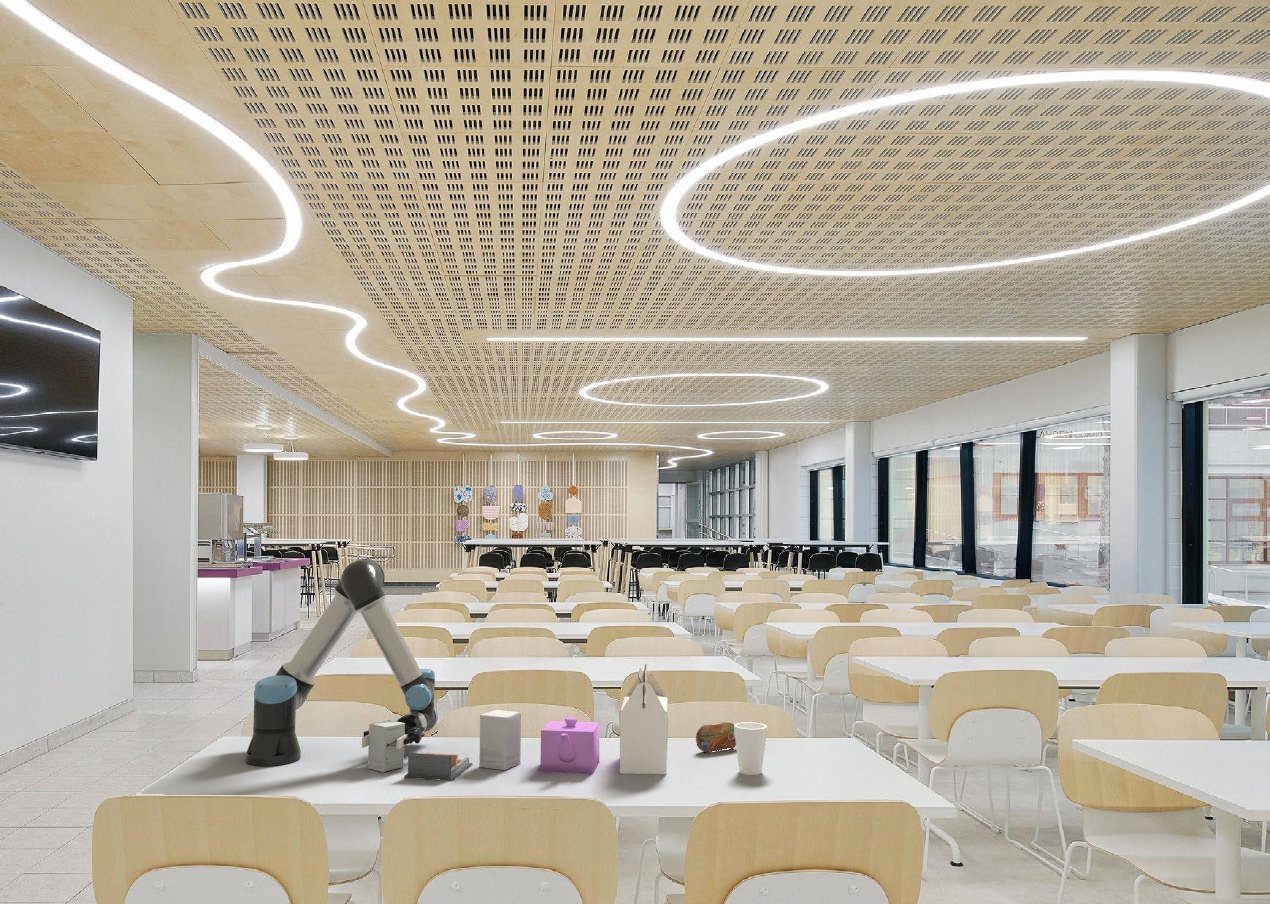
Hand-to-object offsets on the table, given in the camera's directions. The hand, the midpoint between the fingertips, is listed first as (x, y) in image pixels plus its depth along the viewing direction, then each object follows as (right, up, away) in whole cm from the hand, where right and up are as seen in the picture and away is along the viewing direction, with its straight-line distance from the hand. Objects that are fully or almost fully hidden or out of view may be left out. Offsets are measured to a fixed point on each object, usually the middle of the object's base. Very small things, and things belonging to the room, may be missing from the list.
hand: (380, 743), depth 275 cm
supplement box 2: (+33, -9, +8) cm, 35 cm away
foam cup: (+105, -9, +4) cm, 105 cm away
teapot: (+53, -9, +6) cm, 54 cm away
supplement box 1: (+1, -8, +4) cm, 9 cm away
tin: (+97, -11, +29) cm, 102 cm away
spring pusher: (+17, -8, +2) cm, 18 cm away
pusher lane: (+16, -8, +1) cm, 18 cm away
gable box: (+74, -10, +11) cm, 76 cm away
